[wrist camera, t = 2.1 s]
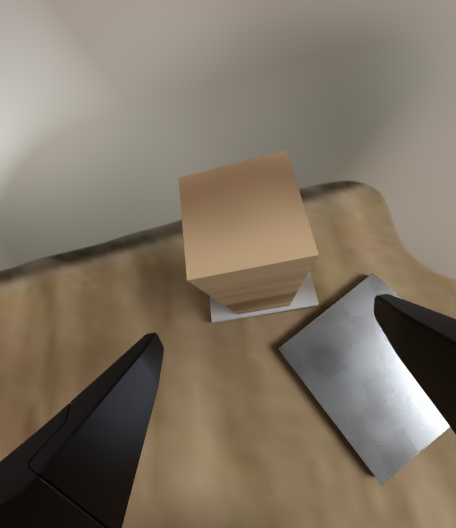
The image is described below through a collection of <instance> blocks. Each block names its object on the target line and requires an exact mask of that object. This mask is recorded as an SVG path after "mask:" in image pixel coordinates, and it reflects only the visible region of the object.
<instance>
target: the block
mask: <svg viewBox="0 0 456 528" xmlns="http://www.w3.org/2000/svg"><path fill="white" fill-rule="evenodd" d="M179 188H180V199H181V213H182V225H183V238H184V250H185V263H186V275H187V281H189V282H190V283H191V284H193V285H194V286H196V287H197V288H199V289H200V290H202V291H203V292H205V293H206V294H208V295H209V301H210V310H211V319H212V323H220V322H226V321H232V320H238V319H244V318H250V317H256V316H262V315H268V314H274V313H280V312H286V311H293V310H299V309H305V308H311V307H316V306H318V305H319V303H318V299H317V296H316V292H315V289H314V285H313V282H312V278H311V275H310V269H311V267H312V266H313V264H314V262H315V261H316V259H317V257H318V255H319V254H318V251H317V248H316V244H315V241H314V238H313V235H312V231H311V228H310V225H309V222H308V218H307V215H306V212H305V209H304V205H303V202H302V199H301V195H300V192H299V189H298V186H297V182H296V179H295V176H294V173H293V169H292V166H291V163H290V160H289V156H288V153H287V150H286V151H282V152H278V153H274V154H270V155H266V156H262V157H258V158H255V159H251V160H247V161H243V162H239V163H235V164H232V165H227V166H223V167H220V168H216V169H212V170H208V171H204V172H200V173H196V174H192V175H188V176H185V177H181V178H179Z"/></svg>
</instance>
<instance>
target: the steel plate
mask: <svg viewBox="0 0 456 528" xmlns="http://www.w3.org/2000/svg"><path fill="white" fill-rule="evenodd" d="M381 294H390V295H393V296H395V297H398V298H400V297H399V296H398V295H397V294H396V293H394V292H393V291H392V290H391V289H390V288H389V287H388V286H387V285H386V284H385V283H384V282H382V281H381V280H380V279H379V278H378V277H377V276H376V275H375V274H374V273H372V274H371V275H369V276H368V277H367V278H365V279H364V280H363V281H362V282H360V283H359V284H358V285H357V286H355V287H354V288H353V289H352V290H350V291H349V292H348V293H347V294H345V295H344V296H343V297H342V298H340V299H339V300H338V301H337V302H335V303H334V304H333V305H331V306H330V307H329V308H328V309H326V310H325V311H324V312H323V313H321V314H320V315H319V316H318V317H316V318H315V319H314V320H313V321H311V322H310V323H309V324H308V325H306V326H305V327H304V328H303V329H301V330H300V331H299V332H298V333H296V334H295V335H294V336H293V337H291V338H290V339H289V340H288V341H286V342H285V343H284V344H283V345H281V346H280V347H279V348H278V349H279V351H280V352H281V353H282V355H283V356H284V357H285V359H286V360H287V361H288V363H289V364H290V365H291V367H292V368H293V369H294V371H295V372H296V373H297V374H298V376H299V377H300V378H301V380H302V381H303V382H304V384H305V385H306V386H307V388H308V389H309V390H310V392H311V393H312V394H313V395H314V397H315V398H316V399H317V401H318V402H319V403H320V405H321V406H322V407H323V409H324V410H325V411H326V413H327V414H328V415H329V416H330V418H331V419H332V420H333V422H334V423H335V424H336V426H337V427H338V428H339V430H340V431H341V432H342V434H343V435H344V436H345V437H346V439H347V440H348V441H349V443H350V444H351V445H352V447H353V448H354V449H355V451H356V452H357V453H358V455H359V456H360V457H361V459H362V460H363V461H364V462H365V464H366V465H367V466H368V468H369V469H370V470H371V472H372V473H373V474H374V476H375V477H376V478H377V480H378V481H379V482H380V483H381V485H382V484H384V483H385V482H386V481H387V480H388V479H389V478H391V477H392V476H393V475H394V474H395V473H396V472H398V471H399V470H400V469H401V468H402V467H403V466H405V465H406V464H407V463H408V462H409V461H410V460H412V459H413V458H414V457H415V456H416V455H417V454H419V453H420V452H421V451H422V450H423V449H424V448H426V447H427V446H428V445H429V444H430V443H431V442H433V441H434V440H435V439H436V438H437V437H438V436H440V435H441V434H442V433H443V432H444V431H445V430H447V429H448V428H449V427H450V426H449V425H448V423H447V422H446V420H445V419H444V418H443V416H442V415H441V414H440V412H439V411H438V410H437V408H436V407H435V406H434V404H433V403H432V402H431V400H430V399H429V398H428V396H427V395H426V393H425V392H424V391H423V389H422V388H421V387H420V385H419V384H418V383H417V381H416V380H415V379H414V377H413V376H412V375H411V373H410V372H409V371H408V369H407V368H406V366H405V365H404V364H403V362H402V361H401V360H400V358H399V357H398V355H397V354H396V352H395V351H394V349H393V348H392V346H391V344H390V343H389V341H388V339H387V337H386V336H385V334H384V332H383V331H382V329H381V327H380V326H379V324H378V322H377V320H376V319H375V317H374V298H375V296H377V295H381Z"/></svg>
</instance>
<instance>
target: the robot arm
mask: <svg viewBox="0 0 456 528" xmlns="http://www.w3.org/2000/svg"><path fill="white" fill-rule="evenodd" d="M374 317H375V319H376V320H377V322H378V324H379V326H380V327H381V329H382V331H383V332H384V334H385V336H386V337H387V339H388V341H389V343H390V344H391V346H392V348H393V349H394V351H395V352H396V354H397V355H398V357H399V358H400V360H401V361H402V362H403V364H404V365H405V366H406V368H407V369H408V371H409V372H410V373H411V375H412V376H413V377H414V379H415V380H416V381H417V383H418V384H419V385H420V387H421V388H422V389H423V391H424V392H425V393H426V395H427V396H428V398H429V399H430V400H431V402H432V403H433V404H434V406H435V407H436V408H437V410H438V411H439V412H440V414H441V415H442V416H443V418H444V419H445V420H446V422H447V423H448V425H449V426H450V427H451V429H452V430H453V431H454V433H455V434H456V319H454V318H452V317H449V316H446V315H443V314H441V313H438V312H435V311H433V310H430V309H427V308H425V307H422V306H419V305H417V304H414V303H411V302H409V301H406V300H403V299H401V298H398V297H395V296H393V295H390V294H381V295H377V296H375V298H374ZM163 353H164V348H163V345H162V343H161V341H160V339H159V337H158V335H157V334H156V333H149V334H146V335H145V336H144V337H143V338H141V339H140V340H139V341H138V342H137V343H136V344H135V345H134V346H133V347H131V348H130V349H129V350H128V351H127V352H126V353H125V354H124V355H122V356H121V357H120V358H119V359H118V360H117V361H116V362H115V363H114V364H112V365H111V366H110V367H109V368H108V369H107V370H106V371H105V372H104V373H102V374H101V375H100V376H99V377H98V378H97V379H96V380H95V381H93V382H92V383H91V384H90V385H89V386H88V387H87V388H86V389H85V390H83V391H82V392H81V393H80V394H79V395H78V396H77V397H76V398H75V399H73V400H72V401H71V403H70V404H68V405H67V406H66V407H64V408H63V409H62V410H61V411H60V412H59V413H58V414H57V415H56V416H54V417H53V418H52V419H51V420H50V421H49V422H48V423H46V424H45V425H44V426H43V427H42V428H41V429H39V430H38V431H37V432H36V433H35V434H33V435H32V436H31V437H30V438H29V439H27V440H26V441H25V442H24V443H22V444H21V445H20V446H19V447H18V448H16V449H15V450H14V451H13V452H12V453H10V454H9V455H8V456H7V457H5V458H4V459H3V460H2V461H1V462H0V528H122V524H123V521H124V517H125V513H126V509H127V505H128V501H129V497H130V494H131V490H132V486H133V482H134V478H135V474H136V470H137V467H138V463H139V459H140V455H141V451H142V447H143V443H144V439H145V436H146V432H147V428H148V424H149V420H150V416H151V412H152V409H153V405H154V401H155V397H156V393H157V389H158V384H159V379H160V372H161V366H162V359H163Z"/></svg>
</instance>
